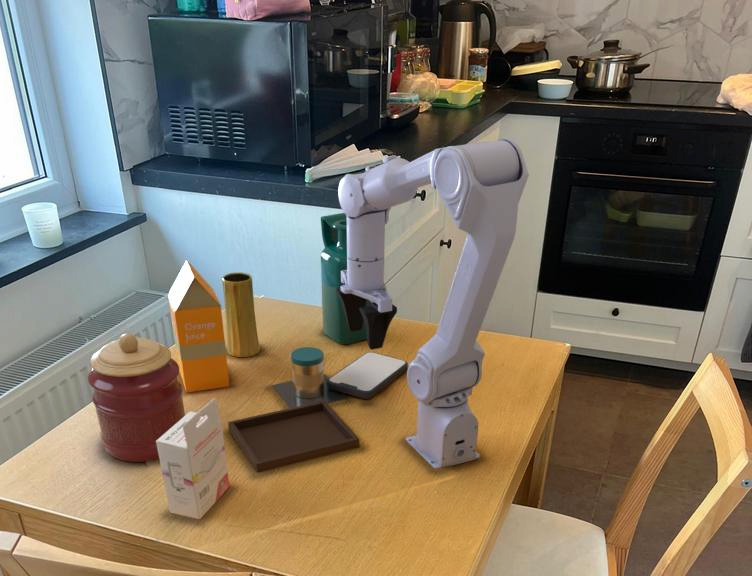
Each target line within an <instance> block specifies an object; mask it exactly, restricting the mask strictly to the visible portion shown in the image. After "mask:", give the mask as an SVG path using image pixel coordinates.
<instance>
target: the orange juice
mask: <svg viewBox="0 0 752 576" xmlns="http://www.w3.org/2000/svg"><path fill="white" fill-rule="evenodd" d="M167 297H168V303H169V304H168V305H169V310H170V316H171V323H172V331H173V340H174V343H175V350H176V357H177V364H178V365H179V375H180V377H181V380H182V383H183V388H184V390H185V393H192V392H193V393H195V392H200V391H208V390H213V389H214V390H215V389H220V388H227V387H230V378H229V368H228V360H227V347H226V339H225V332H224V322H223V314H222V307H223V305H222V304H221V302H220V301H219V299H218V296H217V294H216V292H215V290H214V288H213V287H212V286H211V285H210V284H209V283H208V281H206V280H205V278H203V276H202V275H201V274H200V273H199V272H198V271H197V270H196V269H195V267H194V266H193V265H192V264H191V263H190V261H188V260H187V259H186V260H185V262H184V264H183V265H182V267H181V269H180V272H179V273H178V275H177V277H176V278H175V281H174V282H173V284H172V286H171V288H170V289H169V292H168V293H167Z"/></svg>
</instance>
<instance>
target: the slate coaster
mask: <svg viewBox="0 0 752 576" xmlns="http://www.w3.org/2000/svg"><path fill="white" fill-rule="evenodd" d="M329 378H330V377H328V376H327V375H326V374H325V373H324V393H323V394H322V395H321V396H319V397H316V398H311V399H305V398H300V397H297V396H296V395H295V394H294V391H293V380H290V381H285V382H279V383H275V384H271V387H272V389H273V390H274V391H275V392H276V393H277V395H278V396H279V397H280V398H281V399H282V402H284V403H285V404H286V406H287V407H288V409H289V408H293V407H298V406H302V405H307V404H311V403H316V402H320V401H325V402H326V403H327V404H330V403H331V404H332V403H335V402H341V401H345V400H348V397H347V396H346V395H345V393H342V392H339V391H335V390H332V389H329V388H328V387H327V380H328V379H329Z"/></svg>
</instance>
